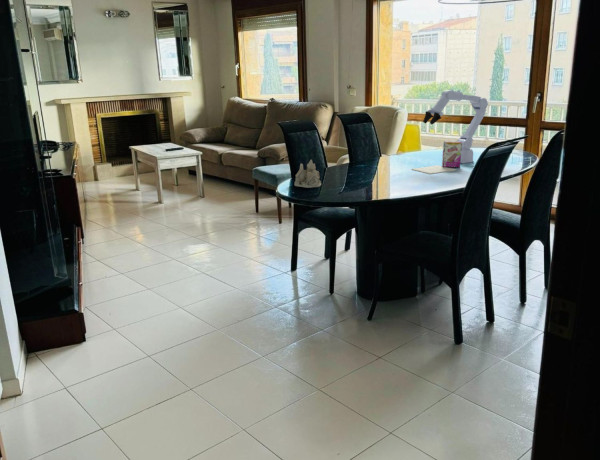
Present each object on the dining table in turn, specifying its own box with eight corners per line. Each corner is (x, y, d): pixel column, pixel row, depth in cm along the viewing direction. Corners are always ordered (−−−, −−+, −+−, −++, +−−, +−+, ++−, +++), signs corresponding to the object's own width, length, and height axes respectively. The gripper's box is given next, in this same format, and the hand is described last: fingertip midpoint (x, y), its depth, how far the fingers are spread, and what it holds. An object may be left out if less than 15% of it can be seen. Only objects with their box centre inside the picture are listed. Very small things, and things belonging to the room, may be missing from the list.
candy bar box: (442, 167, 354) (444, 142, 349) (441, 166, 358) (443, 141, 354) (460, 167, 352) (462, 142, 348) (459, 166, 357) (460, 141, 353)
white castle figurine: (294, 182, 337) (294, 159, 331) (321, 182, 336) (321, 158, 331) (293, 189, 322) (292, 165, 317) (321, 189, 321) (321, 164, 316)
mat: (437, 166, 363) (437, 165, 363) (456, 170, 345) (456, 169, 345) (411, 169, 356) (411, 168, 356) (430, 174, 338) (430, 173, 338)
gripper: (429, 101, 359) (417, 118, 359) (442, 103, 346) (430, 120, 346) (436, 108, 362) (423, 124, 362) (449, 110, 349) (437, 127, 349)
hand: (427, 123), depth 354 cm, fingers open, 7 cm apart
